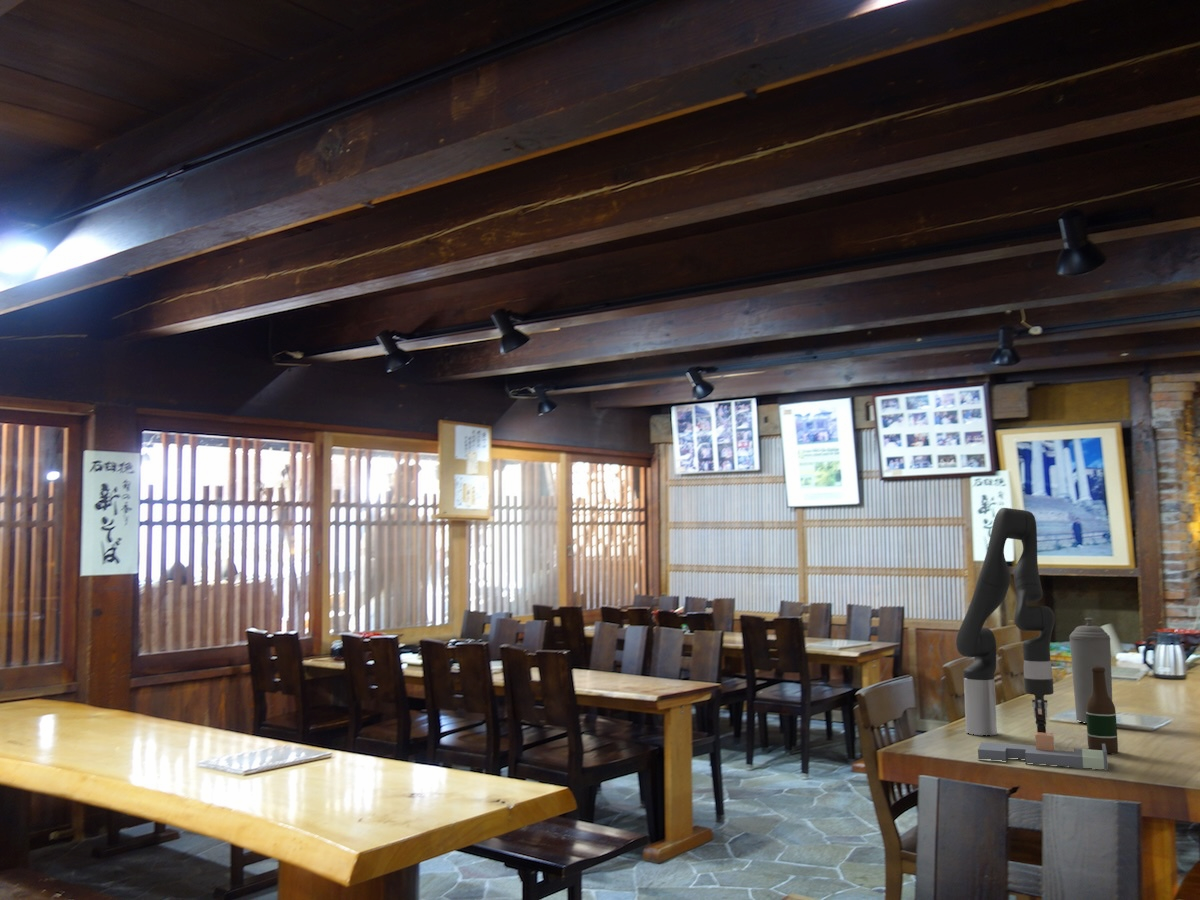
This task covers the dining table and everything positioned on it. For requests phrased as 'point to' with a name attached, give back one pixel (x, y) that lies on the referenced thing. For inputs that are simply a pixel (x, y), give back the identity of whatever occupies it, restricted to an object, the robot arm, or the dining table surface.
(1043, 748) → the block
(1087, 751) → the board
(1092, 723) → the beer bottle
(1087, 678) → the canister
